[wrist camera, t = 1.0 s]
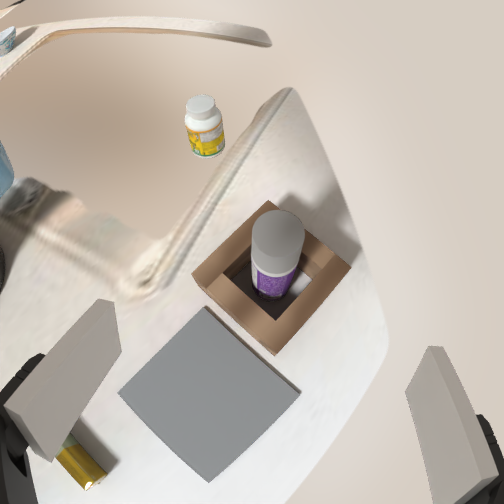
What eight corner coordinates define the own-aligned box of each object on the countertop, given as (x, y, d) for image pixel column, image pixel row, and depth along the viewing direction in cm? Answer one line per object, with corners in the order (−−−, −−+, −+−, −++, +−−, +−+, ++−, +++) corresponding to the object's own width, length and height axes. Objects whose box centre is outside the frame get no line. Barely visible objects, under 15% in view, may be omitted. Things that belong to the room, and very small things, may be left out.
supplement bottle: (229, 154, 49) (224, 110, 40) (195, 163, 48) (184, 120, 39) (220, 131, 50) (214, 87, 42) (188, 139, 50) (178, 97, 41)
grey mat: (118, 392, 36) (117, 392, 35) (203, 307, 40) (203, 306, 39) (209, 482, 31) (208, 483, 31) (299, 394, 36) (300, 394, 35)
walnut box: (198, 285, 41) (191, 273, 36) (266, 218, 44) (268, 199, 40) (274, 356, 37) (277, 353, 33) (341, 280, 41) (351, 267, 36)
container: (296, 282, 41) (317, 231, 27) (272, 309, 40) (282, 270, 26) (268, 259, 42) (275, 198, 28) (244, 285, 41) (238, 234, 27)
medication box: (43, 419, 34) (26, 422, 30) (51, 409, 34) (35, 410, 30) (99, 484, 31) (85, 492, 27) (109, 474, 31) (95, 482, 27)
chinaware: (-5, 67, 70) (-13, 52, 63) (-13, 62, 73) (-21, 50, 66) (26, 41, 74) (19, 26, 67) (15, 38, 78) (8, 25, 70)
